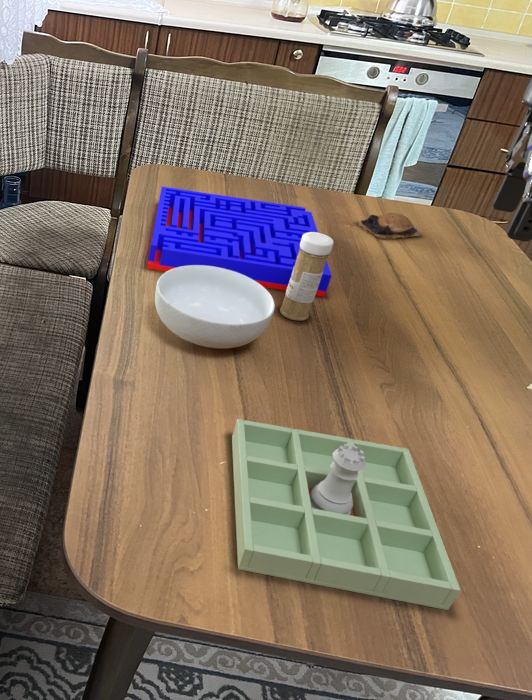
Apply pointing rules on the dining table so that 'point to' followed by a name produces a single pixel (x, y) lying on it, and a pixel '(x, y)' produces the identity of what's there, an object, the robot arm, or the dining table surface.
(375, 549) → the grid
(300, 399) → the dining table surface
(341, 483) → the rook chess piece
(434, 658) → the dining table surface
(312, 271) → the sprinkles bottle
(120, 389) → the dining table surface
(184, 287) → the cereal bowl
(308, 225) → the maze
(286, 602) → the dining table surface
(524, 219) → the robot arm
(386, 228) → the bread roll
